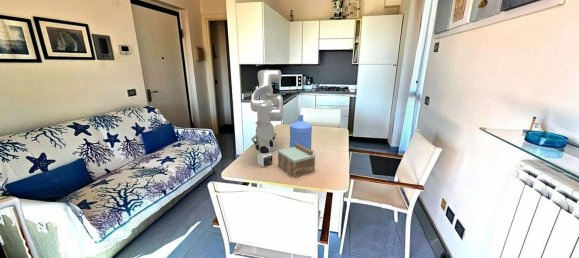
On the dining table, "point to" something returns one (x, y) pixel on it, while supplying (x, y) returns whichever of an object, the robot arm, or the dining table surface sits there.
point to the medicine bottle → (264, 157)
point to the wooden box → (296, 166)
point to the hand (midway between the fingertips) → (264, 148)
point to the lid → (297, 153)
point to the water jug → (301, 133)
